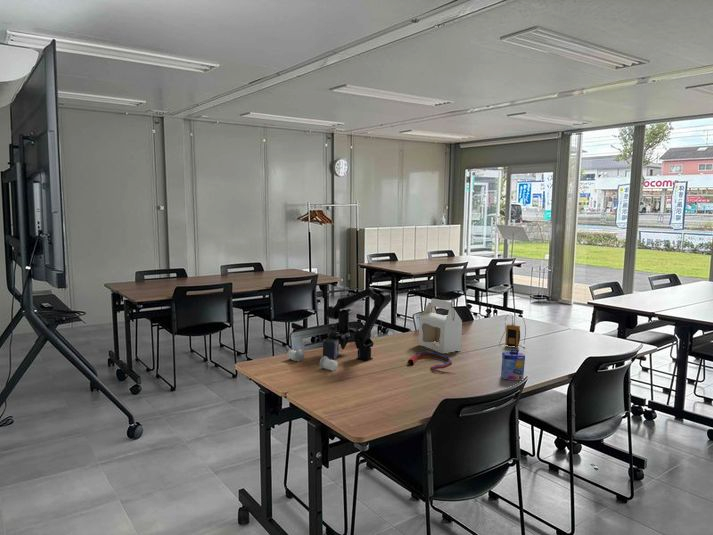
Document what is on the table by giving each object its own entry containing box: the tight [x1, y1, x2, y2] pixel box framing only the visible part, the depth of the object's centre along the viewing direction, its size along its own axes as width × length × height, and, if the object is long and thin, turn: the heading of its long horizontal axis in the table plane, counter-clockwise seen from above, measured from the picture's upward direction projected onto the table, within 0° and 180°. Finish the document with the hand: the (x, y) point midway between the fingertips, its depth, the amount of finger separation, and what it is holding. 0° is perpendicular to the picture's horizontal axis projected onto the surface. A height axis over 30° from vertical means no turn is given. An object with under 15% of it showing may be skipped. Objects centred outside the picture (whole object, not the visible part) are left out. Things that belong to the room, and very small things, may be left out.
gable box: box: [418, 297, 463, 354], centre depth 297 cm, size 22×13×28 cm, turn 33°
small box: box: [322, 337, 340, 361], centre depth 272 cm, size 11×6×10 cm, turn 168°
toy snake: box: [407, 350, 456, 375], centre depth 265 cm, size 31×22×5 cm
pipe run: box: [286, 349, 338, 372], centre depth 261 cm, size 30×6×6 cm, turn 52°
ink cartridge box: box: [500, 349, 526, 381], centre depth 246 cm, size 10×6×14 cm, turn 88°
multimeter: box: [498, 313, 527, 348], centre depth 306 cm, size 15×10×20 cm
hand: (343, 349), depth 281 cm, fingers closed
